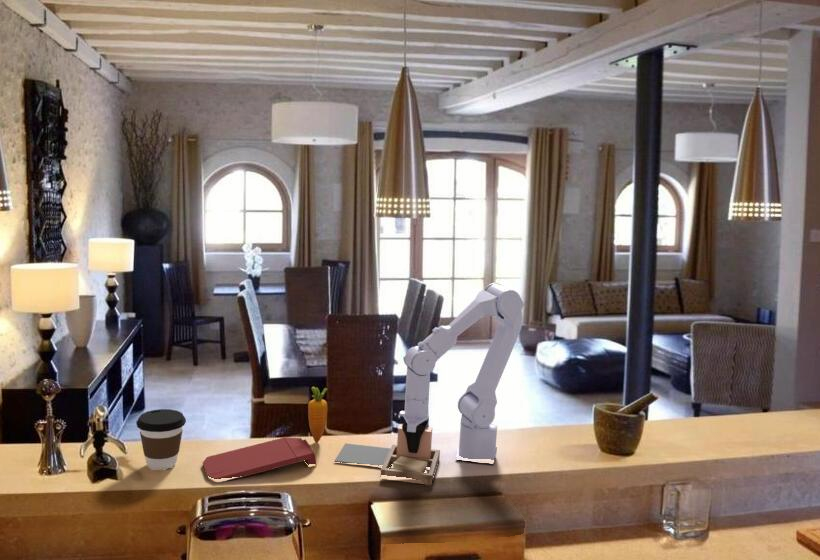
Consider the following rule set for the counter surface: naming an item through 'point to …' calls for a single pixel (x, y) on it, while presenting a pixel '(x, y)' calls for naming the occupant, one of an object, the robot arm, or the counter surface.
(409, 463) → the offcut stack
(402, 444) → the pink rectangular block
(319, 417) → the carrot
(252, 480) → the counter surface
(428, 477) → the tray
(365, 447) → the mat
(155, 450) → the coffee cup
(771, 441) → the counter surface
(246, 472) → the reddish-brown flat block
